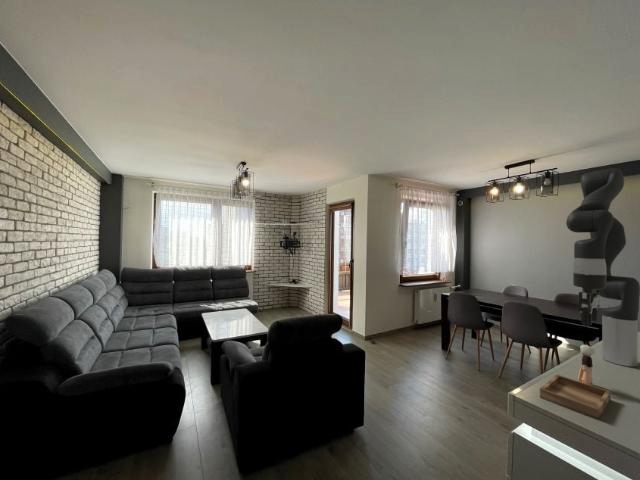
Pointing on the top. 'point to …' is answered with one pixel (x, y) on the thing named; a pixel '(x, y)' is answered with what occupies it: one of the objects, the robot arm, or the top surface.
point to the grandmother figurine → (586, 365)
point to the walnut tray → (576, 396)
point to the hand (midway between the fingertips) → (589, 323)
